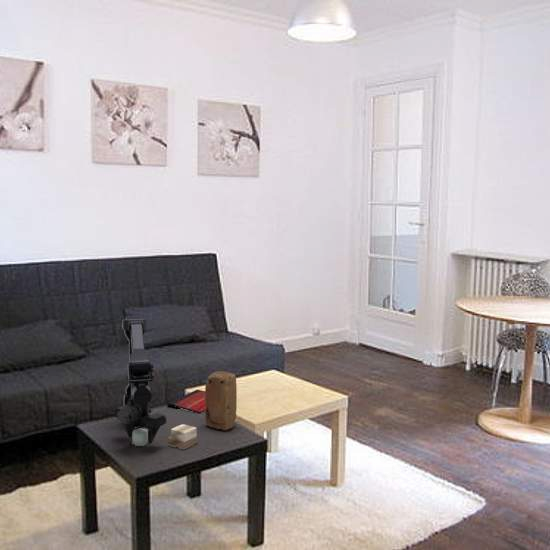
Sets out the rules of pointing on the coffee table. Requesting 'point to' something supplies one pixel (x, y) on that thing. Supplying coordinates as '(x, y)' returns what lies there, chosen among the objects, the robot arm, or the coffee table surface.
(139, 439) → the pale green cube
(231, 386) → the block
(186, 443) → the tower base
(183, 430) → the tower top
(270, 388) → the coffee table surface
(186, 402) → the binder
